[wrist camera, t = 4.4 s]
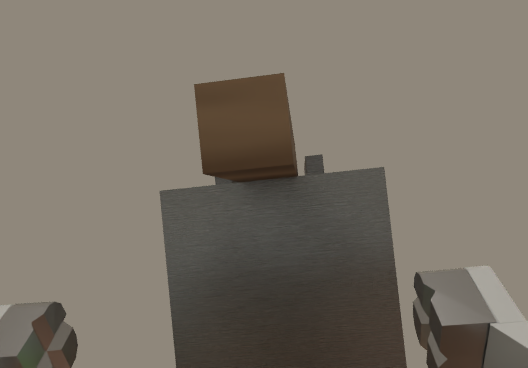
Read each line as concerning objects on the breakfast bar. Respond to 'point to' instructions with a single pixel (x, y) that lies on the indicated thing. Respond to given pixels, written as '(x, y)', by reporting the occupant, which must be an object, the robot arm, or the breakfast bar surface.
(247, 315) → the control unit
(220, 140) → the walnut bar
